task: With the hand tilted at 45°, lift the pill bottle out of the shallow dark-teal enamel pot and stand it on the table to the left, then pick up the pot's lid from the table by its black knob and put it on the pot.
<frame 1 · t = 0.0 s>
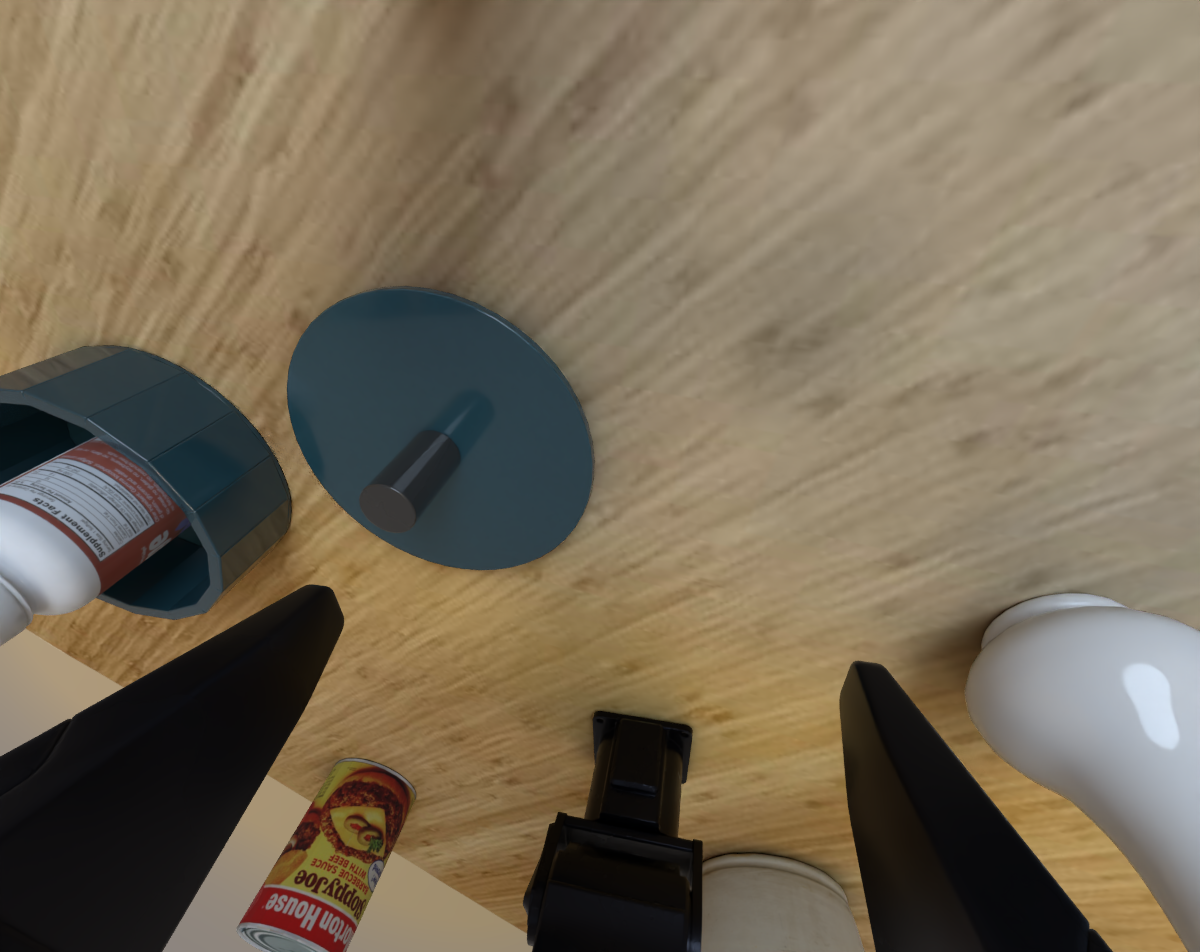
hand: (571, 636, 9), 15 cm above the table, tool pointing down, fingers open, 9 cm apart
pill bottle: (175, 463, 30), resting on pot
lid: (441, 446, 25), point 1 cm above the table
jug: (767, 882, 45), on the table
pot: (176, 463, 30), on the table
flower vase: (1071, 636, 25), on the table
canned food: (376, 780, 49), on the table
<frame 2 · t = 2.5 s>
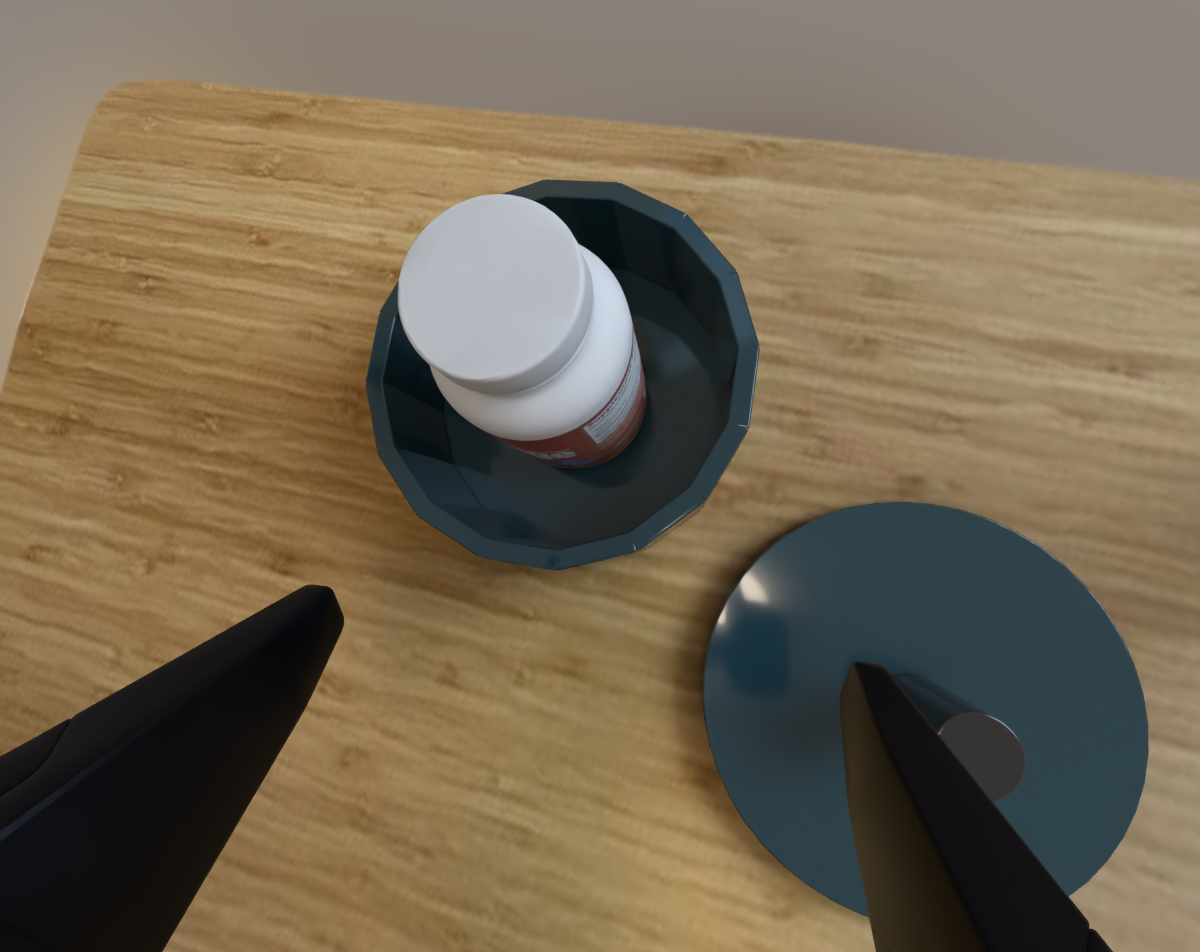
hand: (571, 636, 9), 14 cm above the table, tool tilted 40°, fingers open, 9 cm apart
pill bottle: (580, 403, 24), resting on pot
lid: (906, 702, 20), point 1 cm above the table
pot: (580, 403, 24), on the table
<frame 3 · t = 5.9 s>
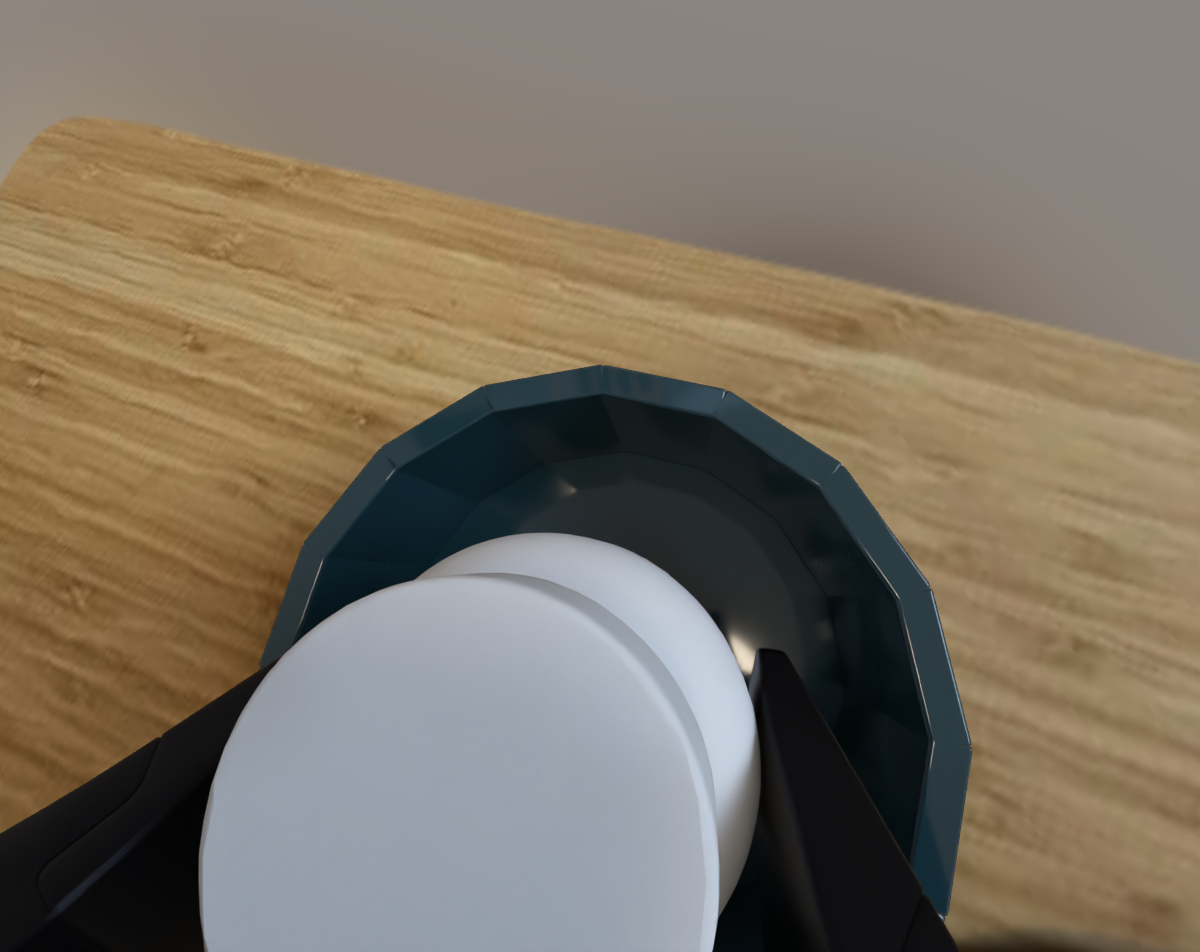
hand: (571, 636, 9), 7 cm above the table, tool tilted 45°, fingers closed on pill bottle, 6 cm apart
pill bottle: (610, 665, 15), resting on pot, touching gripper
pot: (611, 665, 15), on the table
when the fingers open (7 cm above the table, at t = 13.5 s): pill bottle stays where it is, on the table.
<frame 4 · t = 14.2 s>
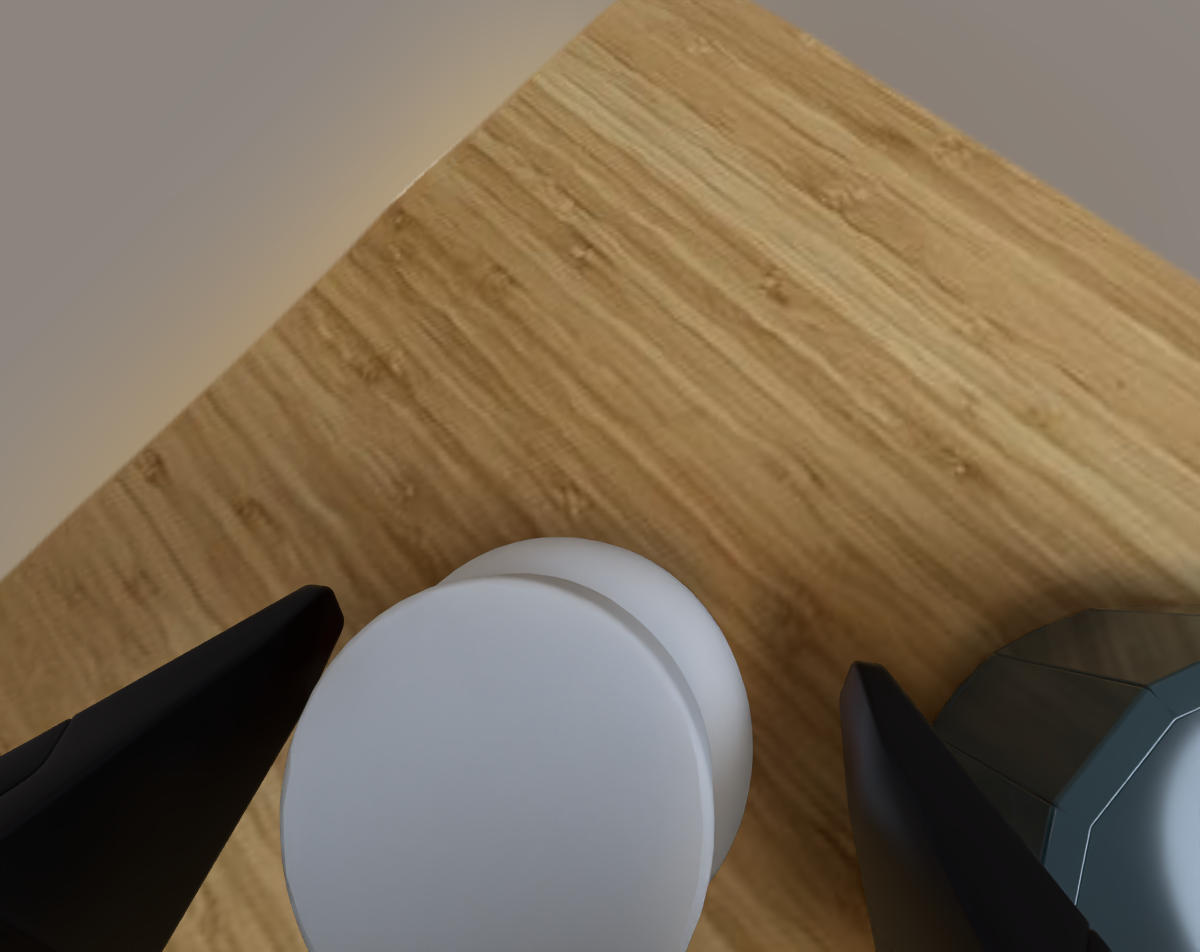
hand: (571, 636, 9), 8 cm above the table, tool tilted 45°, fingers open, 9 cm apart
pill bottle: (615, 659, 16), on the table
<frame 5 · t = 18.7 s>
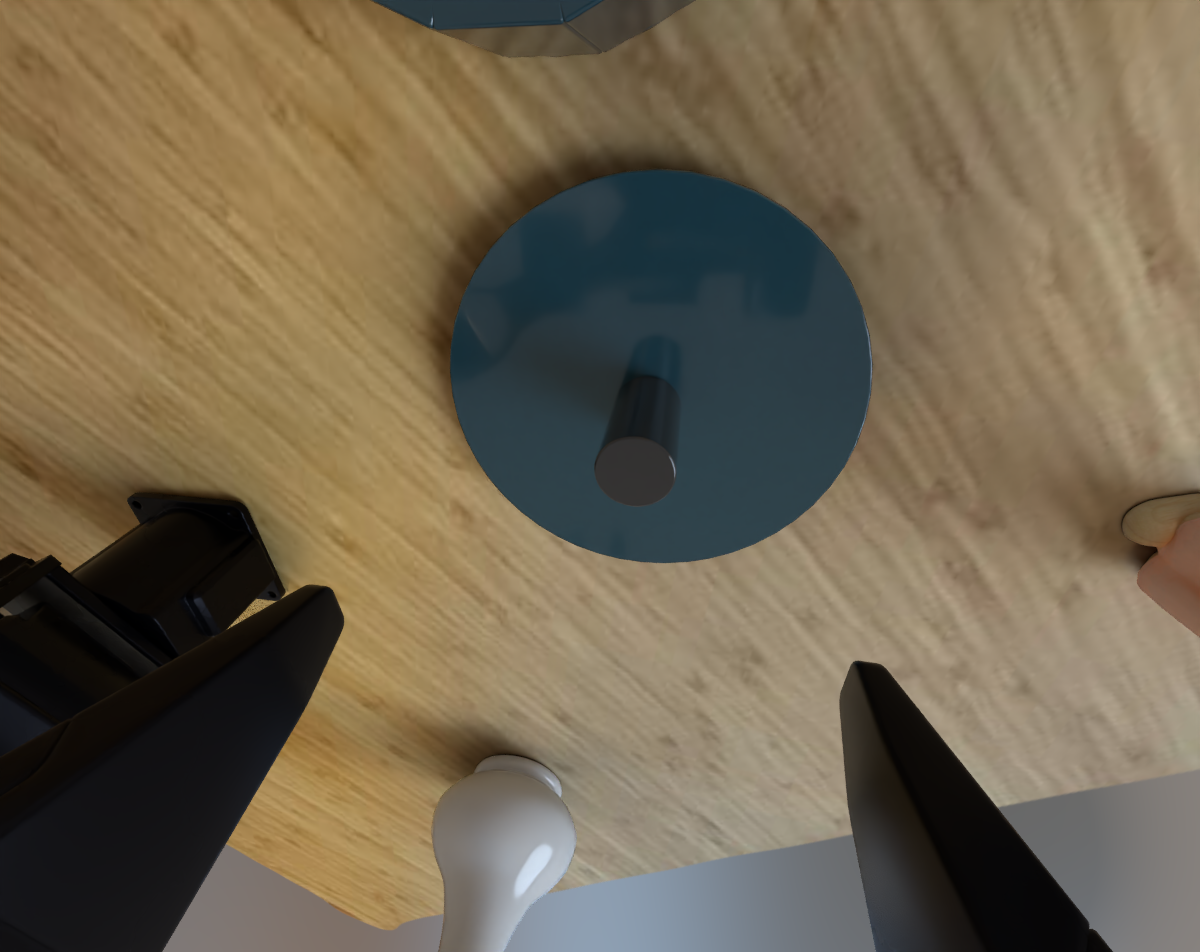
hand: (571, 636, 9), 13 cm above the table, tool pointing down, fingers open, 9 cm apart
grandmother figurine: (1178, 542, 20), on the table
lid: (648, 401, 20), point 1 cm above the table
flower vase: (521, 781, 38), on the table
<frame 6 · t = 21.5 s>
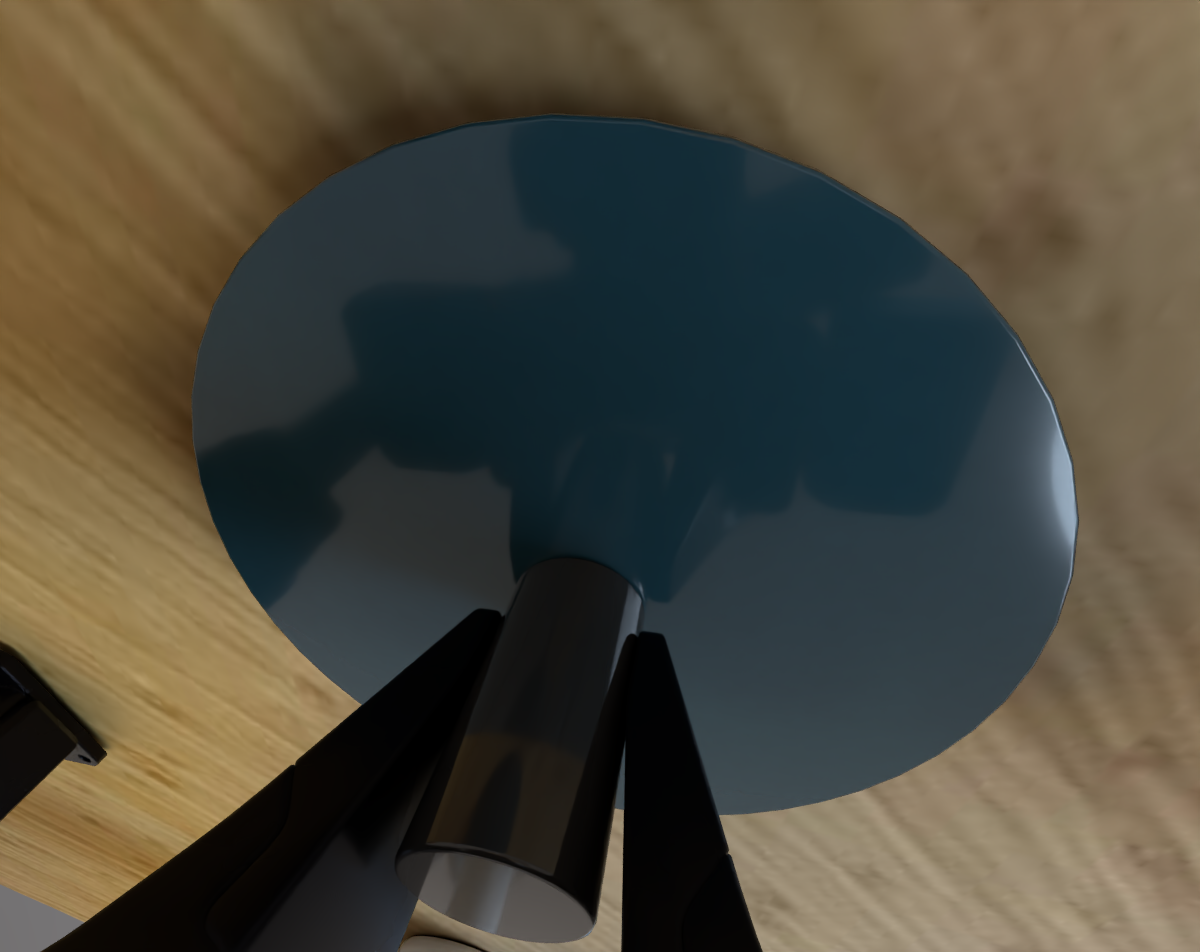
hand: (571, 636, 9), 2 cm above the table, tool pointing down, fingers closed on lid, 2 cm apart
lid: (585, 585, 10), point 1 cm above the table, touching gripper
when the fingers open (6 cm above the table, at t = 26.4 s): lid stays where it is, resting on pot.
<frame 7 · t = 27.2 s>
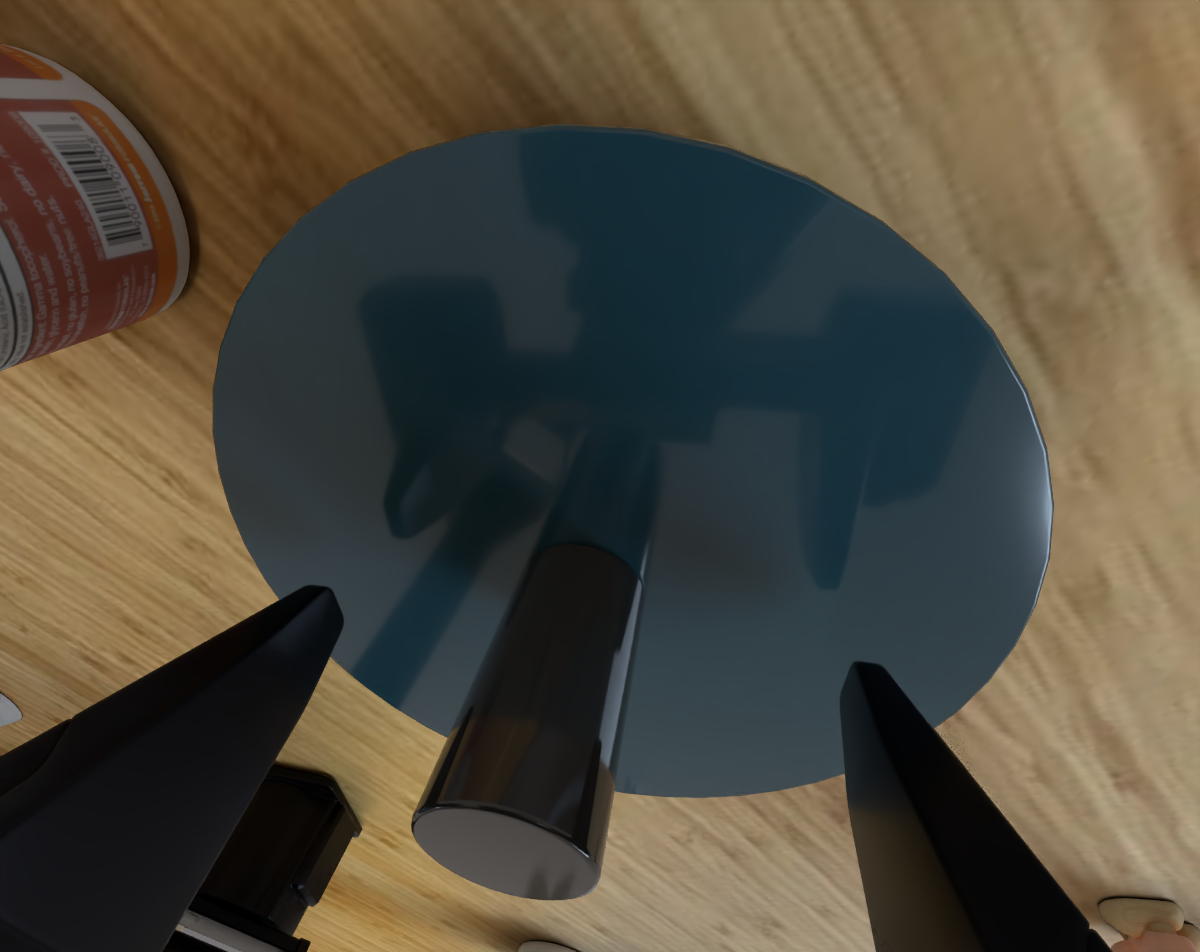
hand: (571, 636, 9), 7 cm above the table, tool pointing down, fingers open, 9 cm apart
grandmother figurine: (1148, 919, 23), on the table
pill bottle: (97, 195, 14), on the table
lid: (588, 572, 11), point 5 cm above the table, touching pot
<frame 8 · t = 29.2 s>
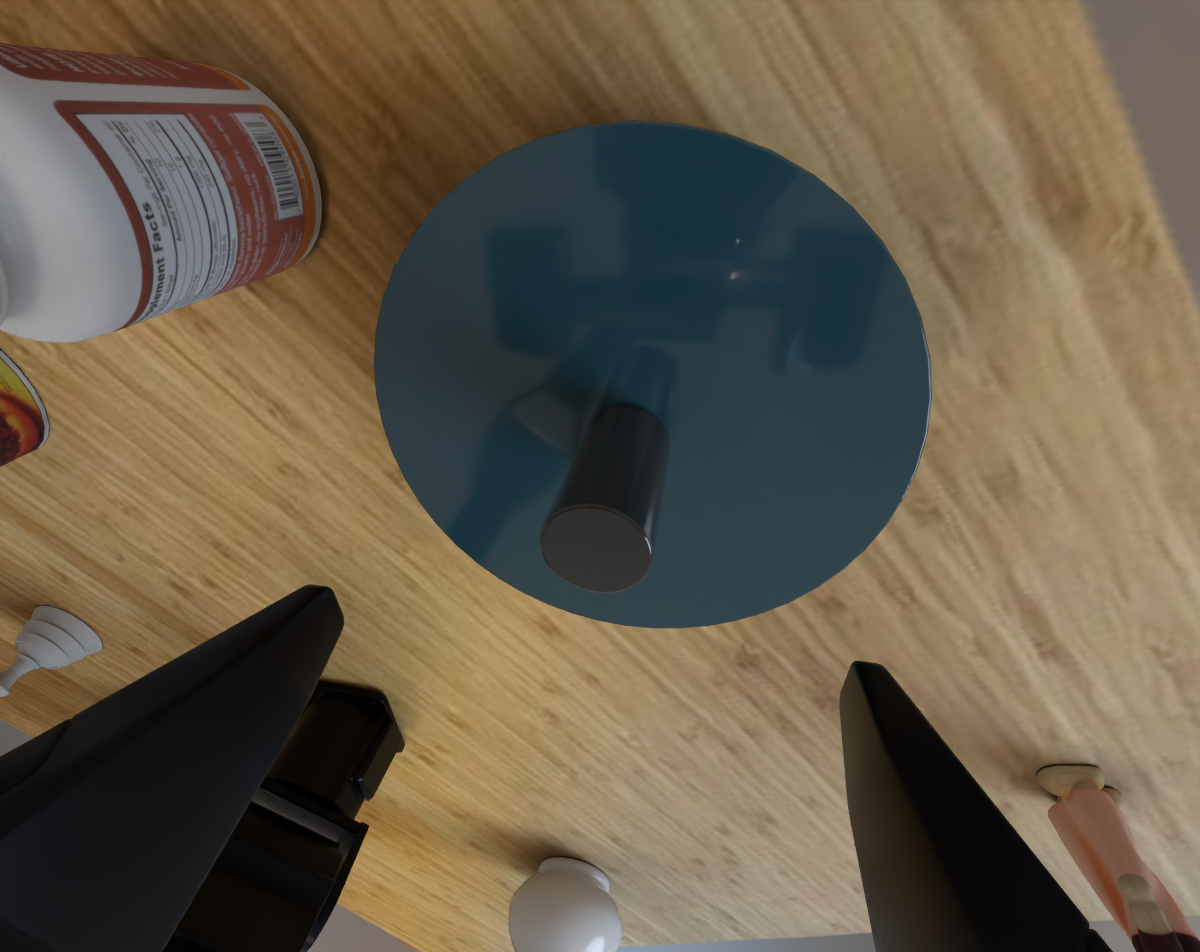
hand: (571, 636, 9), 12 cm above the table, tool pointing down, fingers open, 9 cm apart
grandmother figurine: (1079, 788, 28), on the table
pill bottle: (250, 176, 19), on the table
lid: (629, 435, 15), point 5 cm above the table, touching pot
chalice: (71, 628, 39), on the table
flower vase: (575, 874, 46), on the table
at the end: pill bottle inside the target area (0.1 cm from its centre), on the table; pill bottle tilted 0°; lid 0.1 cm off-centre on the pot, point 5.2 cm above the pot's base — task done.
